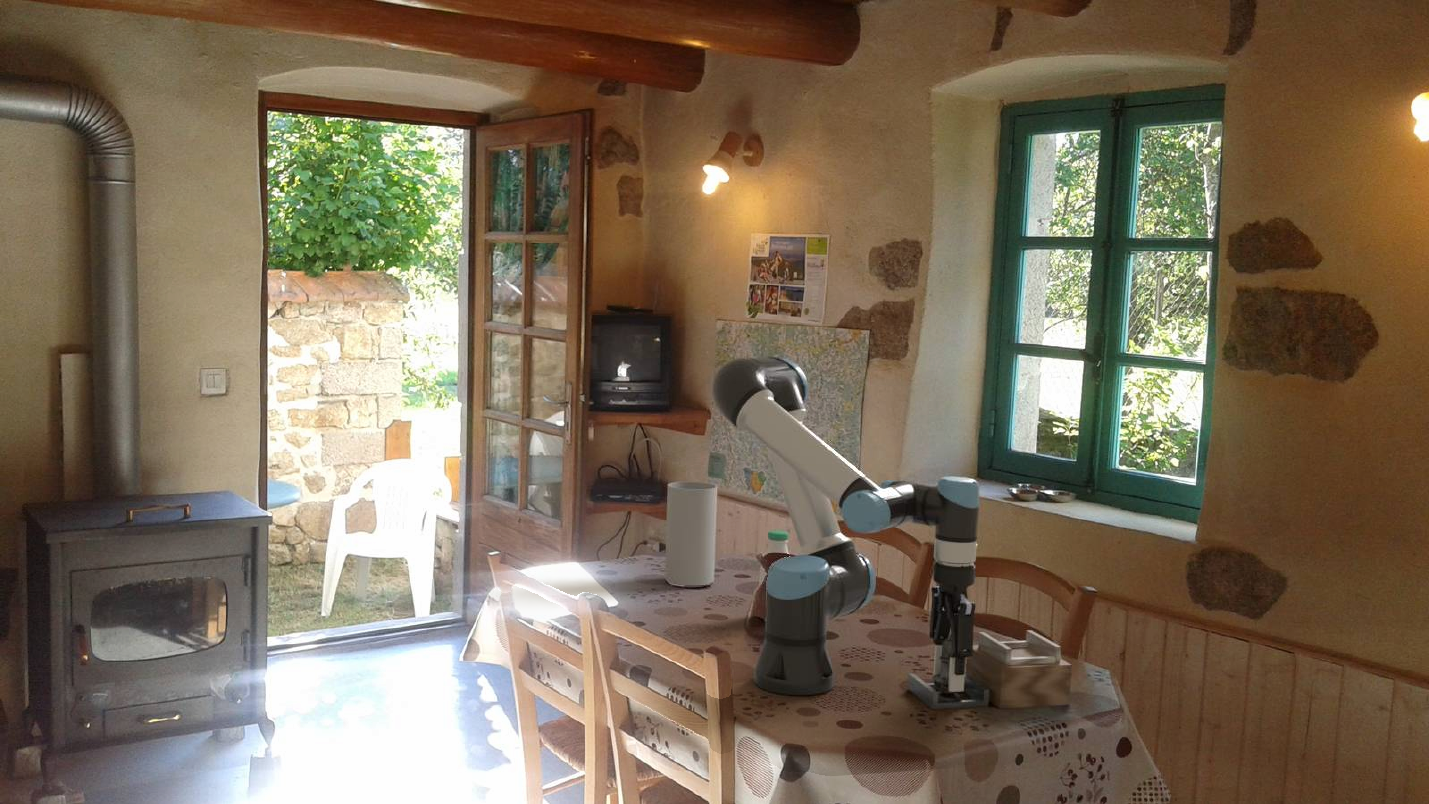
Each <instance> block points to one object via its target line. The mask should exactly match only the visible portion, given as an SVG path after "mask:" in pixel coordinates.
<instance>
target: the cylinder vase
mask: <svg viewBox="0 0 1429 804" xmlns="http://www.w3.org/2000/svg"><path fill="white" fill-rule="evenodd" d="M666 498H667V499H666V531H665V532H666V533H665V534H666V536H665V562H664V567H665V568H664V580H665V579H666V580H667V581H668V582H671V583H673V584H678V585H706V584H709V583H711V582H713V581H714V582H715V563H716V562H715V561H716V534H717V533H716V531H717V508H718V507H717V506H718V504H717V503H718V485H716V484H715V483H712V482H711V483H708V482H702V481H701V482H700V481H674V482H670V483H668V484H667V497H666ZM714 582H713V583H714Z"/></svg>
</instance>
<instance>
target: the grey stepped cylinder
mask: <svg viewBox="0 0 1429 804" xmlns="http://www.w3.org/2000/svg"><path fill="white" fill-rule="evenodd" d="M949 654H953V651H952V637H951V633H949V638H948V639H945V640H944V641H943V643H942V656H941V657H940V659H941V669H940V673H939V674H937V675H934V676H933V675H932V680H933V683H934V685H935V687H936V689H937V690H936V691H937V692H938V701H956V700H963V697H962V696H961V695H960V694H958V692H949V691H948V686H949V667H950V657H949ZM964 681H965V680H964Z"/></svg>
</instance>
